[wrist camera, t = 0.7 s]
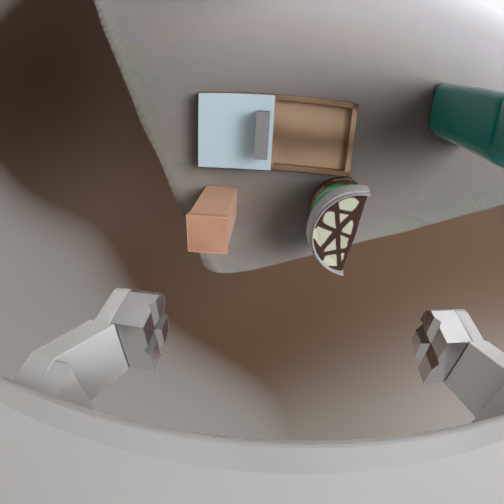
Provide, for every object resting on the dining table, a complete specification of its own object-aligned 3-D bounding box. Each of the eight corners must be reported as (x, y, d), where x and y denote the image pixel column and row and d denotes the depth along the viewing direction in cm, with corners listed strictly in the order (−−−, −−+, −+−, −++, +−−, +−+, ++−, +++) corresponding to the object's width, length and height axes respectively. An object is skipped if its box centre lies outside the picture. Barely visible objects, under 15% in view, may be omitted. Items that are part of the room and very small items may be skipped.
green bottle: (478, 98, 35) (580, 129, 16) (467, 147, 39) (561, 202, 20) (428, 75, 34) (529, 87, 16) (417, 129, 39) (509, 174, 20)
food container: (312, 158, 43) (321, 179, 34) (353, 168, 43) (372, 191, 34) (293, 235, 49) (296, 271, 40) (331, 242, 49) (342, 279, 41)
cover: (200, 93, 38) (193, 94, 35) (275, 95, 37) (275, 96, 34) (199, 165, 43) (193, 172, 40) (270, 169, 42) (269, 176, 39)
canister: (205, 184, 46) (186, 214, 36) (238, 186, 46) (227, 217, 36) (205, 215, 48) (188, 251, 39) (237, 217, 48) (227, 254, 39)
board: (200, 92, 39) (198, 92, 38) (355, 103, 38) (358, 104, 37) (200, 163, 44) (197, 165, 43) (346, 174, 43) (349, 176, 42)
